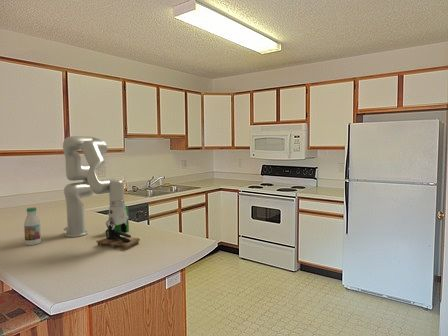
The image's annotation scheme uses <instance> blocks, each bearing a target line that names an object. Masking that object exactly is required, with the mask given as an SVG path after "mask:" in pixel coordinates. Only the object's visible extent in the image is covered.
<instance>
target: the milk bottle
mask: <svg viewBox="0 0 448 336" xmlns="http://www.w3.org/2000/svg"><path fill="white" fill-rule="evenodd" d="M26 213H27V214H26V218H25V219H24V221H23V222H24V223H23V228H24V230H23V231H24V244H25V246H35V245H39V244H40V243H42V232H41V230H42V229H41V221H40V219H39V217H38V215H37V207H34V206H33V207H28V208H26Z"/></svg>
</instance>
